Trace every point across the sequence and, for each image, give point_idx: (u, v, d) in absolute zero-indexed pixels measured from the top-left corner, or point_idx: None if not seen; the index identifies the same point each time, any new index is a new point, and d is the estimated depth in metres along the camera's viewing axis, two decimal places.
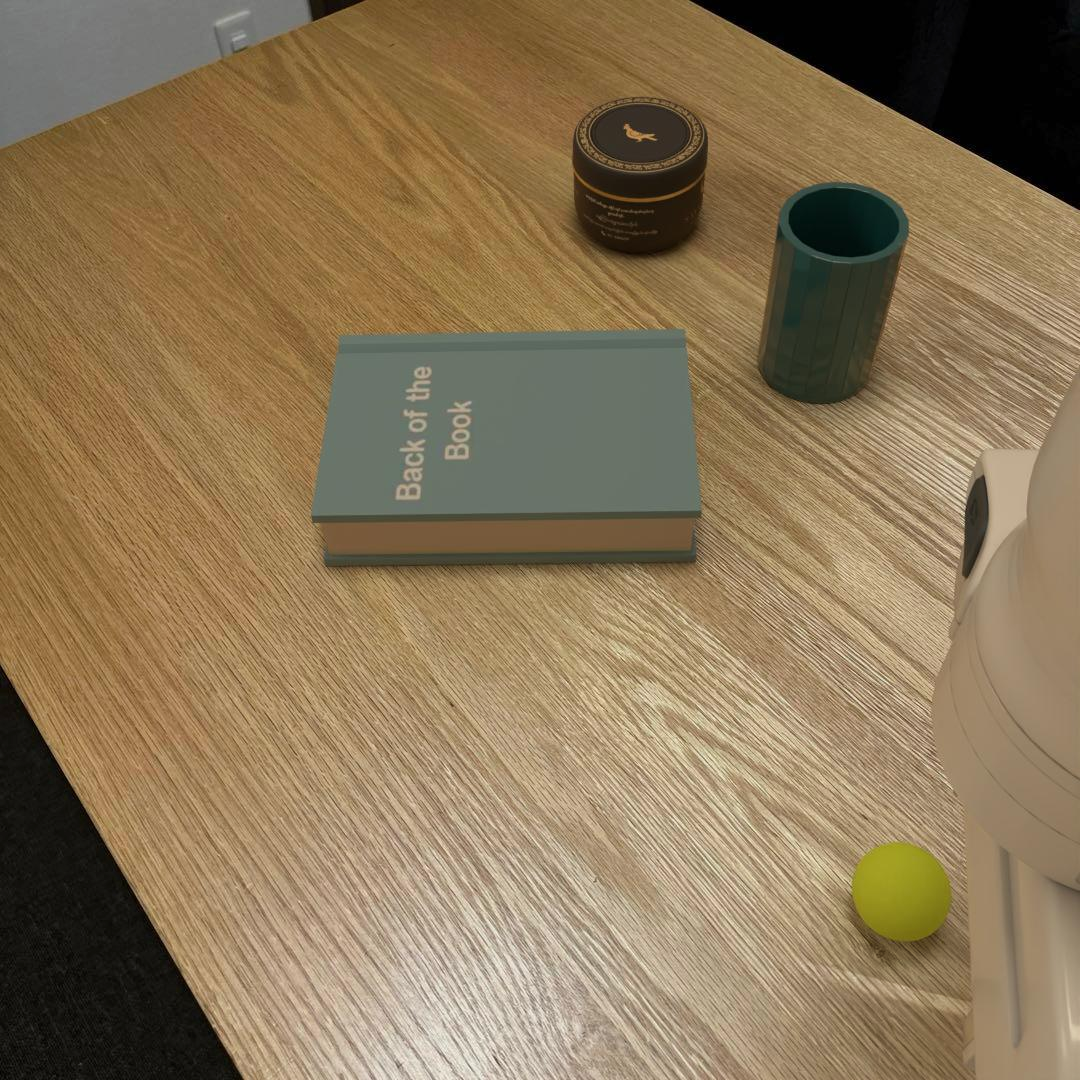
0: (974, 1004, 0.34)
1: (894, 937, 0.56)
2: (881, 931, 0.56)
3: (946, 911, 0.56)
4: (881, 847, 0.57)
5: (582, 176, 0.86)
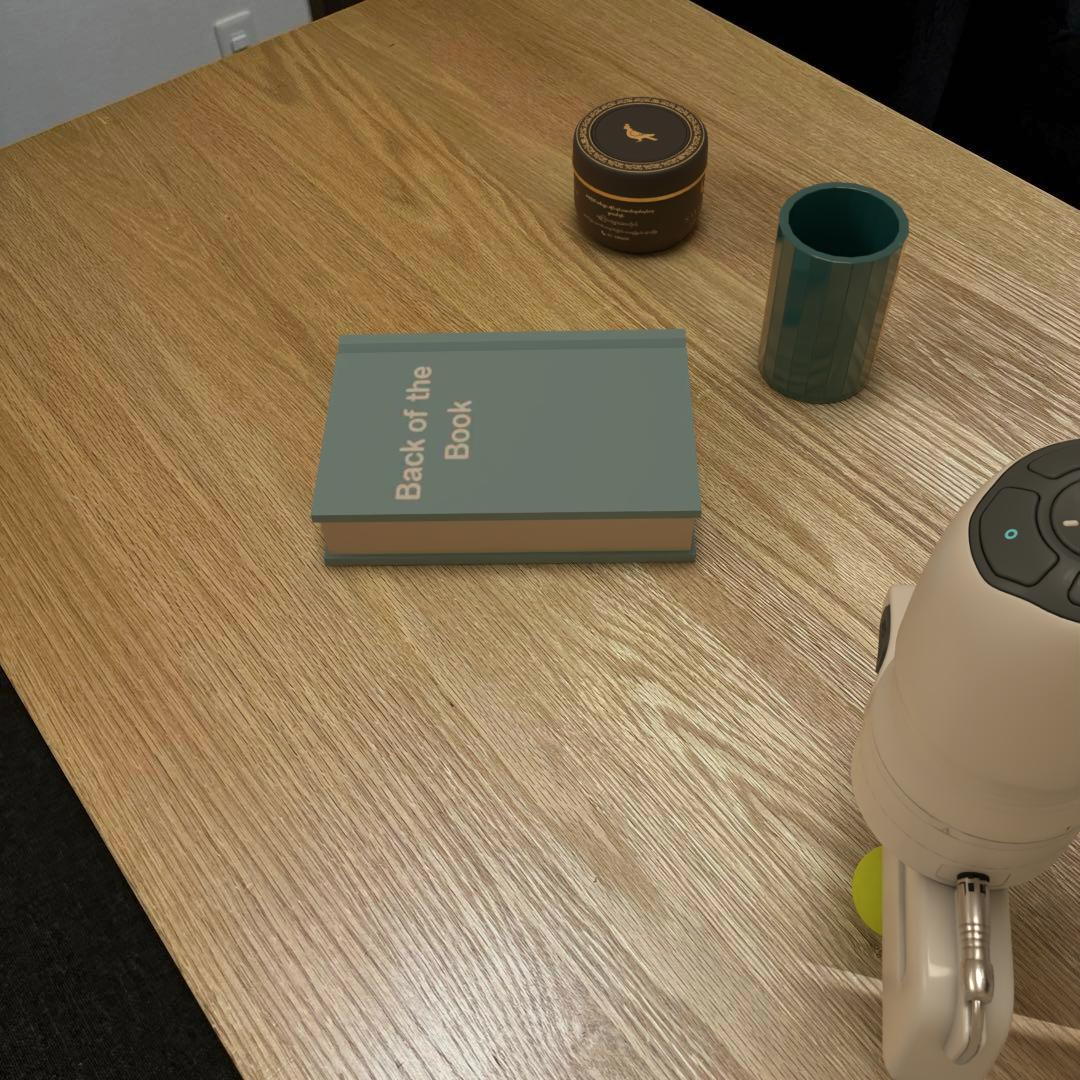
0: (882, 958, 0.51)
1: None
2: (881, 932, 0.56)
3: None
4: (881, 847, 0.57)
5: (582, 176, 0.86)
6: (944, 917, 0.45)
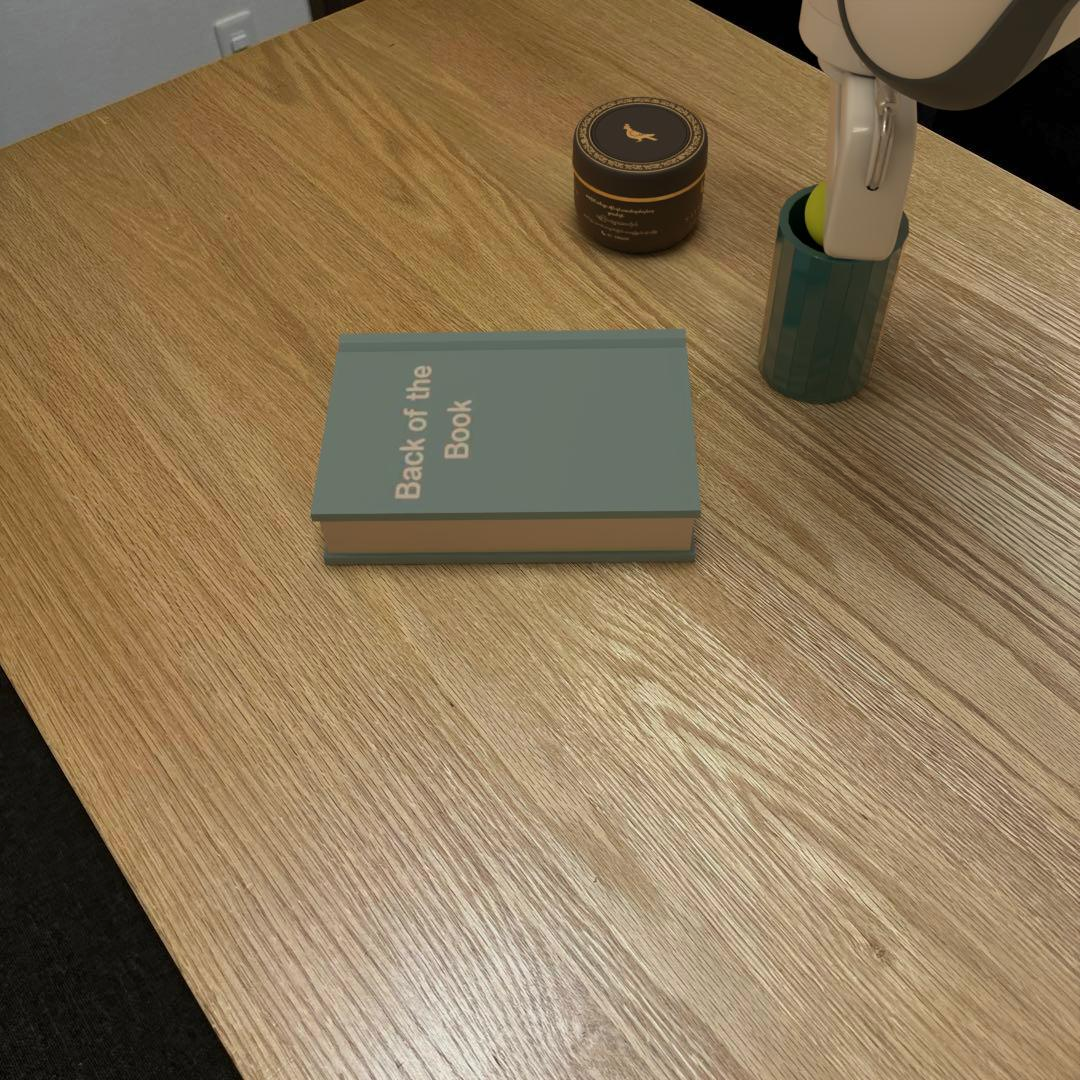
0: (825, 194, 0.65)
1: None
2: None
3: None
4: None
5: (582, 176, 0.86)
6: (866, 92, 0.60)
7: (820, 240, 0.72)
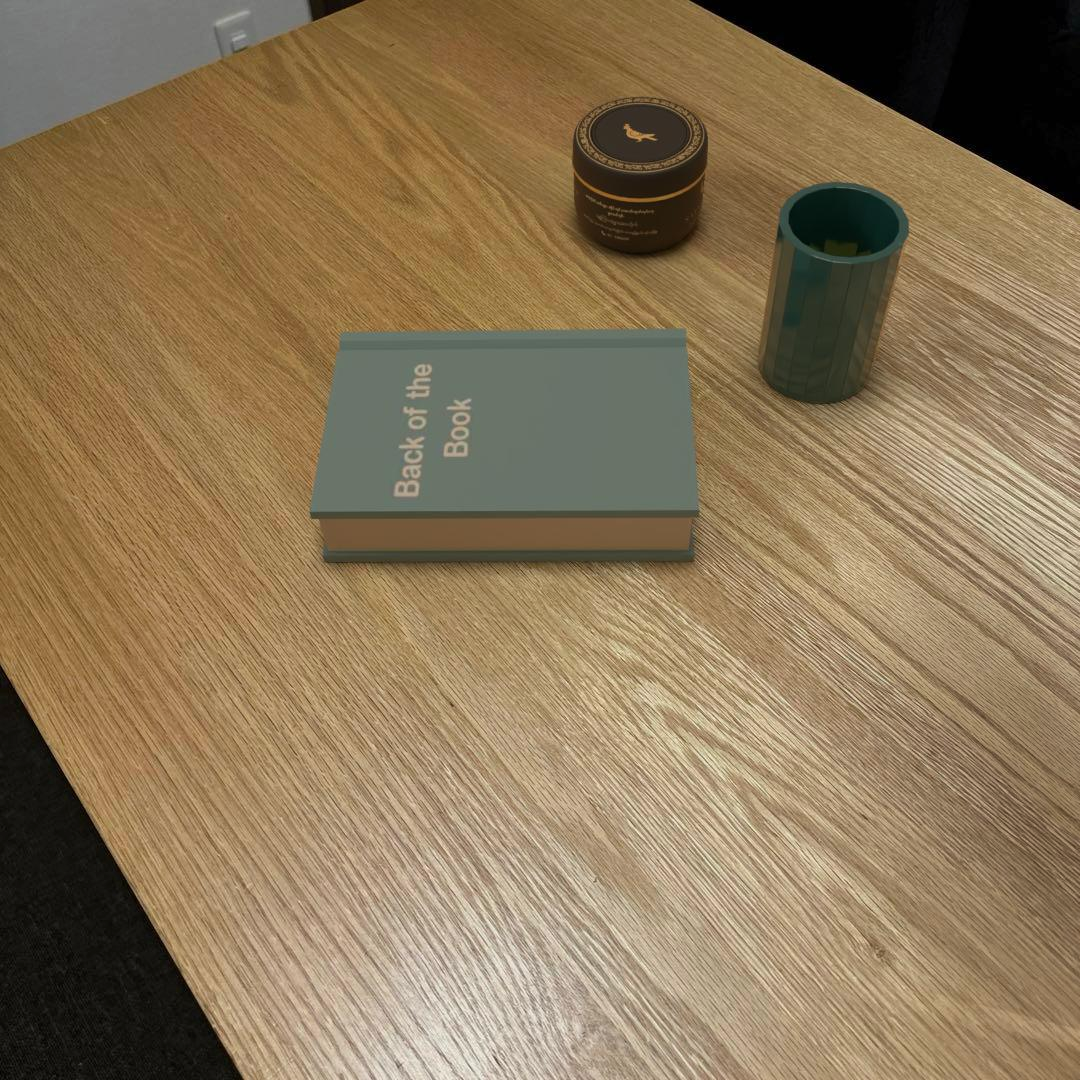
0: None
1: None
2: None
3: None
4: None
5: (582, 176, 0.86)
6: None
7: None
